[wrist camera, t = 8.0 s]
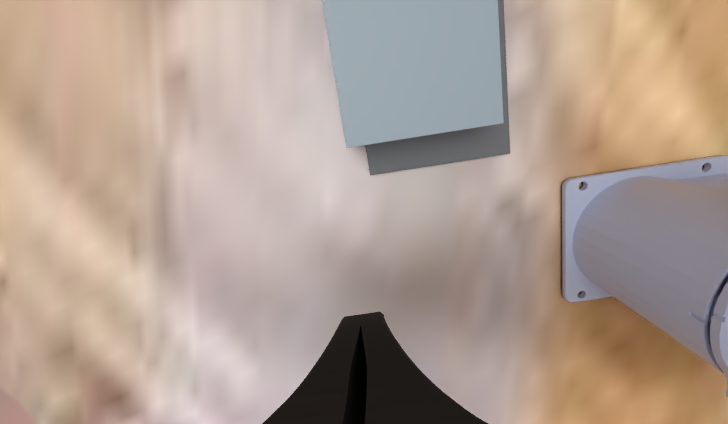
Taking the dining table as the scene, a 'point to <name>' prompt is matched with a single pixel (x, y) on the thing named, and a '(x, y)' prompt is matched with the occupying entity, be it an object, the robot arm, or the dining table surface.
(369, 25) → the slab
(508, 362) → the dining table surface
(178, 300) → the dining table surface
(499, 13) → the flat gray panel
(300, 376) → the dining table surface
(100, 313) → the dining table surface
